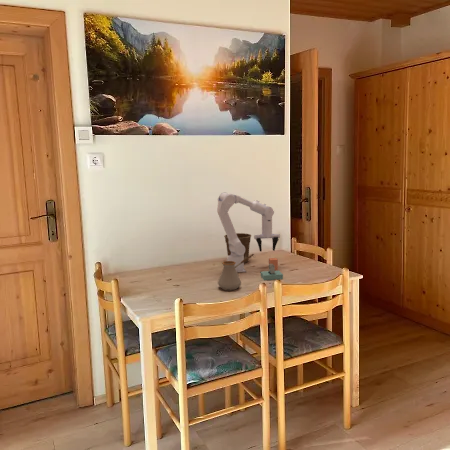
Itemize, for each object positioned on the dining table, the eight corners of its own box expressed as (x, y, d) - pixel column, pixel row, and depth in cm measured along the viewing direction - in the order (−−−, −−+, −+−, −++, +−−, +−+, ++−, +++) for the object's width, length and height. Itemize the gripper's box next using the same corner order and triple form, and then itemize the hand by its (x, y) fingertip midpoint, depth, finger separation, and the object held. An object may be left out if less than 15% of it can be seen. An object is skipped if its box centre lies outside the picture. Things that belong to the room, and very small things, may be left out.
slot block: (264, 280, 239) (264, 275, 238) (260, 276, 246) (260, 271, 246) (282, 279, 240) (282, 274, 240) (278, 275, 248) (278, 270, 247)
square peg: (270, 272, 253) (270, 260, 252) (268, 270, 257) (268, 258, 256) (277, 272, 254) (277, 259, 253) (275, 270, 258) (275, 257, 257)
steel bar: (270, 279, 241) (270, 265, 240) (268, 276, 245) (268, 263, 244) (274, 278, 241) (274, 265, 240) (272, 276, 245) (272, 263, 244)
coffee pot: (226, 293, 219) (225, 262, 217) (213, 287, 228) (212, 257, 226) (261, 285, 231) (261, 255, 228) (248, 279, 240) (247, 251, 238)
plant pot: (222, 259, 285) (222, 233, 283) (248, 257, 288) (247, 232, 285) (227, 265, 269) (226, 238, 267) (254, 264, 272) (254, 237, 269)
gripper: (255, 229, 256) (256, 253, 259) (281, 227, 258) (281, 251, 261) (253, 226, 263) (253, 250, 265) (278, 225, 265) (278, 248, 267)
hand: (267, 250), depth 263 cm, fingers open, 7 cm apart
